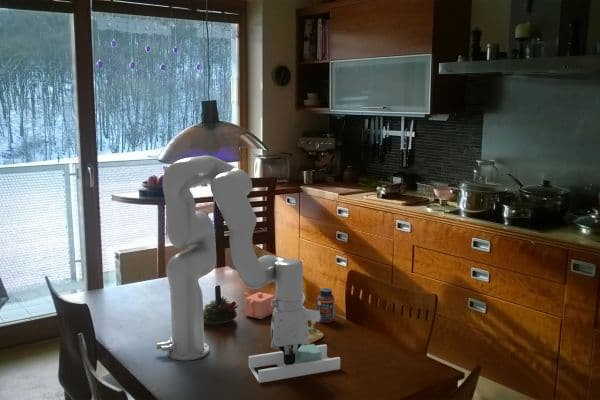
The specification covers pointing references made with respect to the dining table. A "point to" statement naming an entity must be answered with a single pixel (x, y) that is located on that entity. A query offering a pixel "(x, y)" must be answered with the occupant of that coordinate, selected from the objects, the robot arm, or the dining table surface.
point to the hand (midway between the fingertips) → (289, 365)
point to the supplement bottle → (326, 305)
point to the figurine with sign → (313, 333)
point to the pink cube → (259, 305)
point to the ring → (304, 296)
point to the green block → (307, 354)
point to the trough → (290, 370)
